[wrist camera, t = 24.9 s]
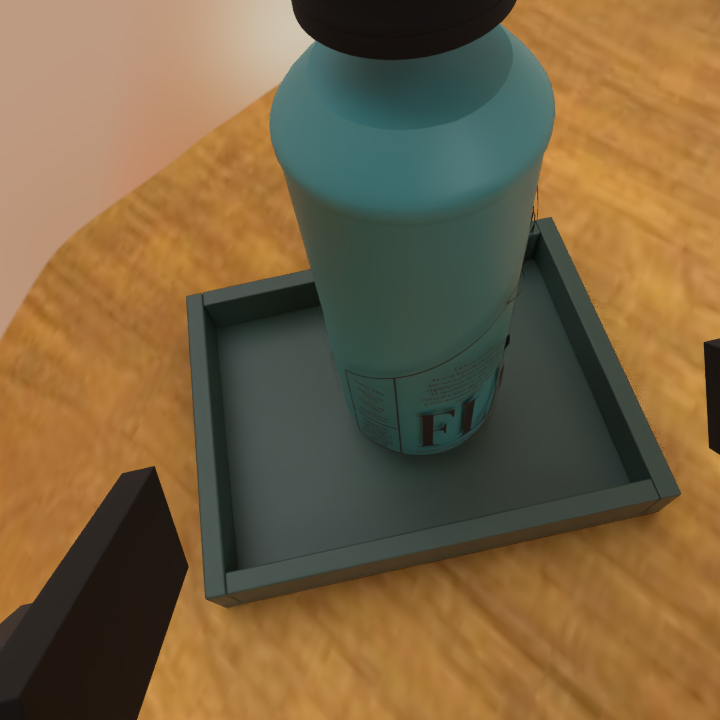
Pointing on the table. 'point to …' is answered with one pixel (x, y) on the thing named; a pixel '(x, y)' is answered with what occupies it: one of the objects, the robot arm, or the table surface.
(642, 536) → the table surface
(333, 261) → the beverage bottle
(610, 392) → the tray
